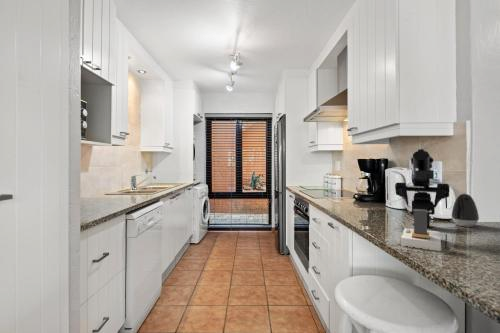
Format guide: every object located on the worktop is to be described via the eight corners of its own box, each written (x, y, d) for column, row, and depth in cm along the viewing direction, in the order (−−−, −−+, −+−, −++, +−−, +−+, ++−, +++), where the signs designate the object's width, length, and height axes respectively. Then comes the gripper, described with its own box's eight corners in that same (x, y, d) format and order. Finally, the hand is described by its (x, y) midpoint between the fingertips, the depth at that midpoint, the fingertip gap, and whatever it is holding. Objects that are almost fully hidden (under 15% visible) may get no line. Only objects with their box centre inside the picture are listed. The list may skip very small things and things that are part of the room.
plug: (412, 242, 104) (412, 208, 104) (429, 244, 101) (428, 209, 101) (412, 245, 100) (411, 210, 100) (429, 247, 97) (428, 211, 97)
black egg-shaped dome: (455, 227, 126) (455, 194, 126) (448, 222, 135) (448, 192, 135) (483, 228, 122) (482, 195, 122) (473, 224, 132) (473, 192, 132)
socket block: (404, 235, 114) (404, 226, 114) (439, 239, 107) (439, 230, 107) (401, 245, 100) (401, 236, 100) (441, 251, 93) (440, 240, 93)
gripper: (395, 163, 116) (392, 191, 107) (449, 163, 106) (451, 194, 97) (397, 180, 123) (395, 208, 114) (447, 181, 113) (449, 212, 104)
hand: (421, 205), depth 107 cm, fingers open, 9 cm apart
